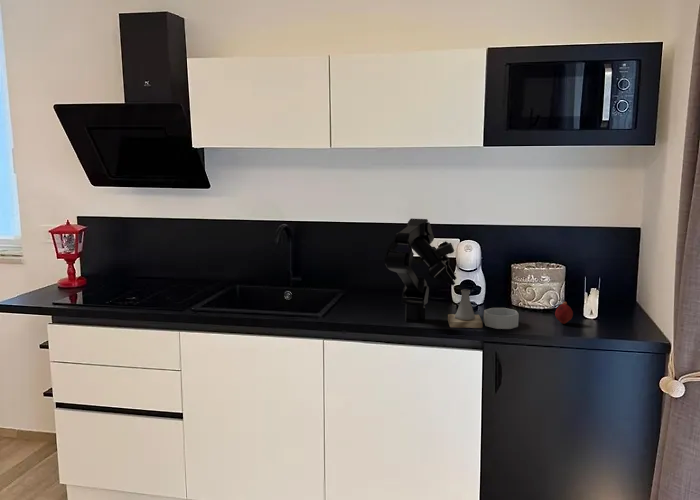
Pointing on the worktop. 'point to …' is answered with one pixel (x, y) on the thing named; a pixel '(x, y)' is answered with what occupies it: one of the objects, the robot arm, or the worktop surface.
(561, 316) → the onion
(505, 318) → the collar
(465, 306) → the flask
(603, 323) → the worktop surface
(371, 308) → the worktop surface
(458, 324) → the oak board
